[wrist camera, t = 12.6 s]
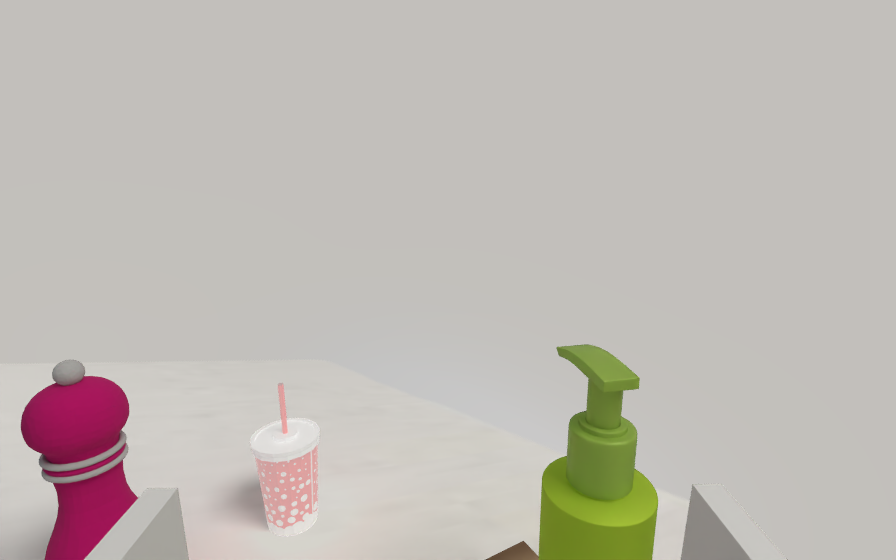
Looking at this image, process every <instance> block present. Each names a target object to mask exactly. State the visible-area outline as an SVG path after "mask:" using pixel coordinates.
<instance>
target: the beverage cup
mask: <svg viewBox="0 0 896 560" xmlns="http://www.w3.org/2000/svg"><path fill="white" fill-rule="evenodd" d="M278 392H279V402H280V413H281V420H277V421H274V422H271V423H269V424H267V425H265V426H263V427H260V428H259V429H258V430H257V431H256V432H255V433H253V434H252V436H251V439H250V441H249V443H250V447H251V452H252V454H253V456H254V457H255V459H256V465H257V470H258V475H259V481H260V486H261V491H262V496H263V502H264V507H265V512H266V518H267V523H268V527H269V529H270V531H271V532H272V533H274V534H275V535H278V536H284V537H287V536H294V535H297V534H300V533H302V532H305V531H306V530H307V529H309V528H310V527H311V526H313V524H314V523H315V521H316V520H317V517H318V451H317V444H318V443H319V439H320V434H319V433H320V428H319V426H318V425H317V423H316V422H314V421H311V420H309V419H304V418H287V417H286V406H285V396H284V385H283V383H279V384H278Z"/></svg>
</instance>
